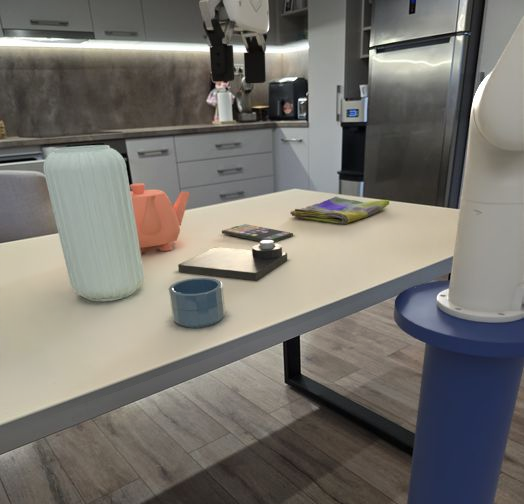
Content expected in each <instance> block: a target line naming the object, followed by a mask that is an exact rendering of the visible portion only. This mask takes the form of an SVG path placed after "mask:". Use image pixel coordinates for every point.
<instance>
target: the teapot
mask: <svg viewBox="0 0 524 504" xmlns="http://www.w3.org/2000/svg"><path fill="white" fill-rule="evenodd" d="M129 187H130V193H131V199H132V205H133V211H134V217H135V223H136V229H137V235H138V241H139V247H140V254H141V255H143V248H151V247H156V246H157V248H158V249H159V251H161V252H167V251H171V250H173V247H172V246H171V245H170V244H171V243H174V242H176V241H177V240H178V238H179V236H180V232H181V226H182V222H183V218H184V215H185V211H186V208H187V205H188V202H189V199H190V195H191V194H190V192H189V191H179V195H178V197H176V200H175V202H174V204H172V202H171V200H170V198H169V196H168V195H167V193H166V192H165V191H163V190H161V189H156V188H155V189H146V184H145V183H144V182H143V183H141V182H140V183H139V182H138V183H131V184H129Z"/></svg>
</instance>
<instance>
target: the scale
mask: <svg viewBox="0 0 524 504" xmlns="http://www.w3.org/2000/svg"><path fill="white" fill-rule="evenodd" d="M287 261H288V252H283V246H282V245H281V244H279V243H275V242H274V248H271V249H260V243H257V244H255V245H253V246H251V249H245V248H244V249H242V248H231V247H221V246H220V247H219V246H214V247H213V248H210V249H208V250H207V251H204V252H202V253H199V254H197V255H196V256H193V257H191V258H188V259H187V260H185V261H182V262H181V263H179V264H177V268H178V273H185V274H193V275H202V276H210V277H211V276H212V277H218V278H219V277H220V278H221V277H222V278H229V279H238V280H247V281H255V282H256V281H258V280H260V279H261V278H263V277H264V276H265V275H267V274H269V273H270V272H272V271H274V270H275V269H276V268H278V267H280V266H281V265H282V264H284V263H286V262H287Z"/></svg>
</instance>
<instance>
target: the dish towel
mask: <svg viewBox="0 0 524 504" xmlns="http://www.w3.org/2000/svg"><path fill="white" fill-rule="evenodd" d="M389 205H390V200H389V199H380V200H373V201H360V200H356V199H347V198H344V197H343V198H342V197H339V196H334V197H331V198H328V199H326V200H324V201H322V202H319V203H314V204H312V205H309V206H306V207H301V208H295V209H293V210H291V211H290V215H291V216H292V217H294V218H295V219H301V220H310V221H318V222H323V223H331V224H337V225H347V224H350V223H352V222H356V221H359V220H361V219H365V218H368V217H370V216H373V215H375V214H376V213H379V212H381V211H382V210H384V209H385V208H386V207H388V206H389Z"/></svg>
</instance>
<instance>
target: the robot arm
mask: <svg viewBox="0 0 524 504" xmlns="http://www.w3.org/2000/svg"><path fill="white" fill-rule="evenodd" d="M198 7H199V11H200V15H201V18H202V21H203V22H202V23H203V24H202V26H203V29H204V31H205V33H206V43H207V46H208V47H209V58H210V70H211V71H210V72H211V73H210V74H211V80H212V82H213V83H220V82H221V83H222V82H233V81H234V80H235V62H234V61H235V59H234V45H233V44H230V42H231V39H232V36H236V37H241V39H242V42H243V45H244V48H245V51H246V52H243V62H244V66H243V67H244V83H246V84H248V85H249V84H250V85H251V84H264V83H266V81H267V80H266V79H267V77H266V51H267V43H266V42H267V39H268V35H267V34H268V31H269V29H270V10H269V9H270V8H269V0H199V2H198ZM462 181H463V182H462V190H461V197H460V203H459V211H458V218H457V219H458V220H457V224H456V225H457V226H456V232H455V233H456V234H455V241H454V248H453V256H452V262H451V263H452V264H451V272H450V278H449V280H450V286H449V289H446V290H444V291H442V292H440V293H439V294H438V295H437V301H436V304H437V306H438V308H439V309H440V310H442V311H443V312H445V313H446V314H449V315H451V316H454V317H457V318H460V319H464V320H469V321H475V322H484V323H505V322H512V321H516V320H520V319H522V318H524V15H523V16H522V17H521V20H519V23H518V25H517V27H516V28H515V30H514V31H513V34H512V35H511V37H510V39H509V40H508V43H507V44H506V46H505V48H504V49H503V51H502V53H501V55H500V57H499V59H498V61H497V62H496V64H495V66H494V67H493V69H492V70H491V71H490V72H489V73H488V74H487V75H486V76H485V78H484V79H483V80H482V81H481V83H480V84H479V86H478V88H477V90H476V92H475V95H474V96H473V101H472V105H471V110H470V118H469V127H468V139H467V148H466V157H465V165H464V174H463V180H462Z"/></svg>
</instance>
